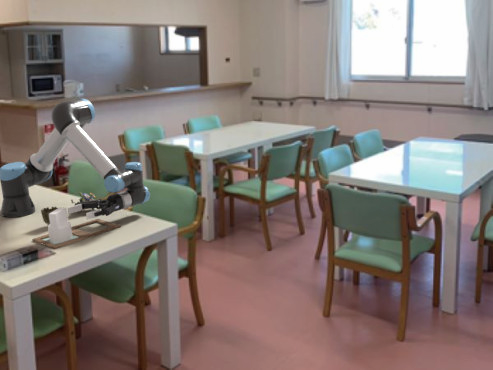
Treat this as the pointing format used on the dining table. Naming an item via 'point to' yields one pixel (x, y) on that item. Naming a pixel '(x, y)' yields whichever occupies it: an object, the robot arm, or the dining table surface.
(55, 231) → the base with upright slab
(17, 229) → the dining table surface
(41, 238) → the frame with rectangular openings
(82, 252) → the dining table surface
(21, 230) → the dining table surface
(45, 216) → the cup
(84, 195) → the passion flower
